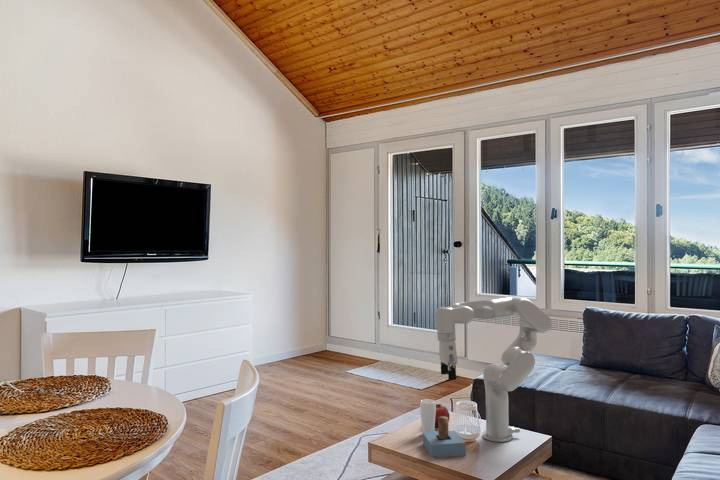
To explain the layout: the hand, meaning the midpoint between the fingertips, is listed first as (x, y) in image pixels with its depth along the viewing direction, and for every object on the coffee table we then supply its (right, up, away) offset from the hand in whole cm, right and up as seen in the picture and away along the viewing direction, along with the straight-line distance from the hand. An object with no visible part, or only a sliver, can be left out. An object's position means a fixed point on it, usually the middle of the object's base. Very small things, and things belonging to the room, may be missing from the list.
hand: (448, 376), depth 221 cm
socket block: (-3, -28, -7) cm, 29 cm away
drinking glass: (-7, -29, +10) cm, 31 cm away
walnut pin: (-3, -27, -7) cm, 28 cm away
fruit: (-1, -29, +22) cm, 36 cm away
